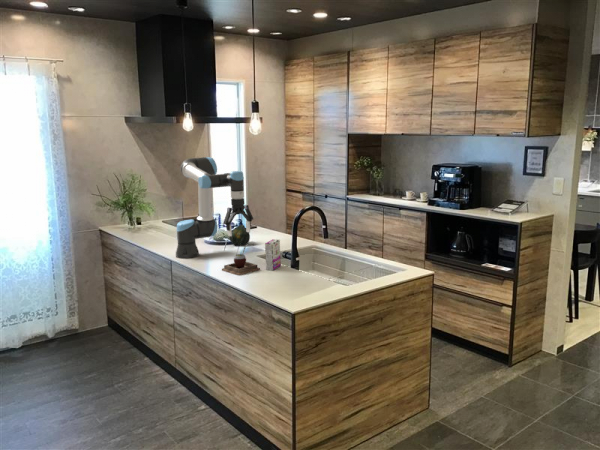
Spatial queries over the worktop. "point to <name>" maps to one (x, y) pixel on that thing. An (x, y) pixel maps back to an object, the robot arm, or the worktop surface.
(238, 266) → the mate gourd
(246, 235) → the squash
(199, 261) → the worktop surface
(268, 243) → the candy bar box
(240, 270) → the holder board
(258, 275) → the worktop surface
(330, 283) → the worktop surface
